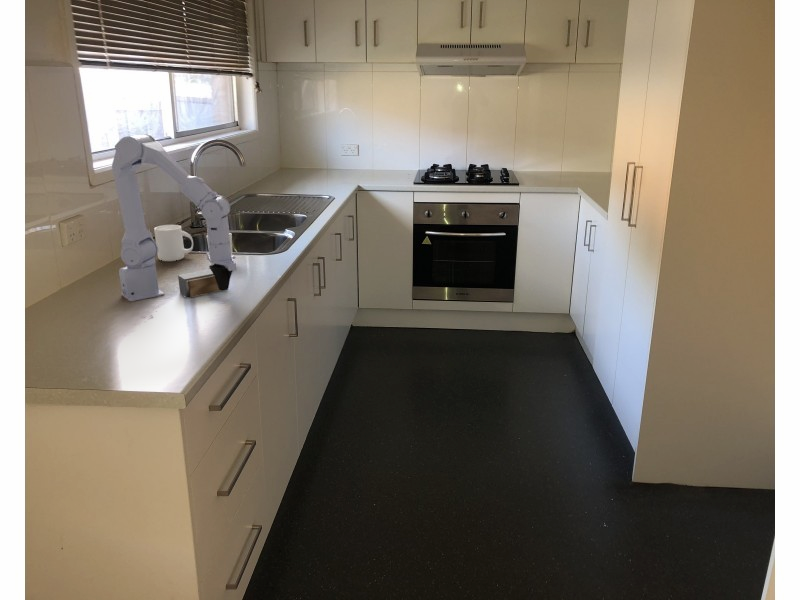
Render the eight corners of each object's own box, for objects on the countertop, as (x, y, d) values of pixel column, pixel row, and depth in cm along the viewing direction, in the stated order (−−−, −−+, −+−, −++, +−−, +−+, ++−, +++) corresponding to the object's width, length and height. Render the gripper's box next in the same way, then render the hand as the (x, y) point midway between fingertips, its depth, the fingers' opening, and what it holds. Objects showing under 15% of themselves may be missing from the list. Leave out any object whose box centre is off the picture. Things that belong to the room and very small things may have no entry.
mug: (192, 261, 213) (188, 229, 210) (155, 262, 212) (151, 230, 209) (197, 254, 221) (193, 224, 218) (161, 255, 220) (157, 225, 217)
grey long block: (186, 297, 177) (184, 279, 175) (180, 293, 181) (177, 275, 179) (227, 289, 184) (225, 271, 183) (220, 285, 188) (218, 267, 186)
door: (188, 298, 176) (186, 282, 174) (186, 297, 177) (184, 280, 175) (229, 289, 183) (227, 274, 181) (226, 288, 184) (224, 272, 182)
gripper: (244, 244, 169) (248, 293, 174) (221, 235, 180) (226, 280, 184) (219, 249, 165) (224, 298, 169) (197, 238, 176) (202, 285, 180)
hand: (223, 289), depth 177 cm, fingers closed
